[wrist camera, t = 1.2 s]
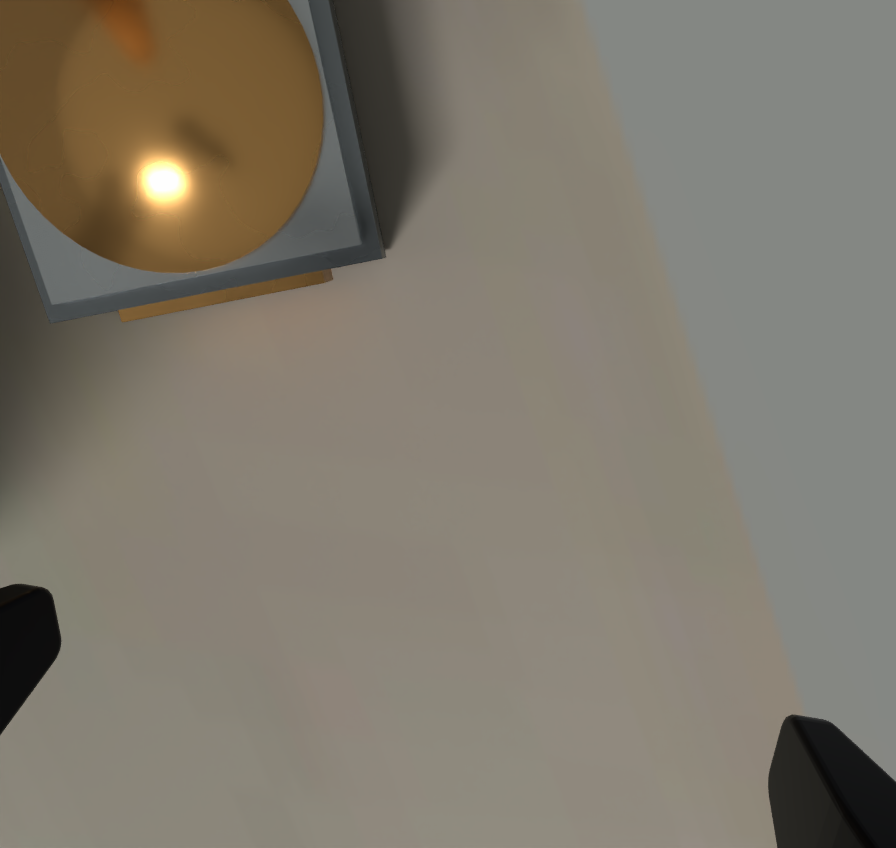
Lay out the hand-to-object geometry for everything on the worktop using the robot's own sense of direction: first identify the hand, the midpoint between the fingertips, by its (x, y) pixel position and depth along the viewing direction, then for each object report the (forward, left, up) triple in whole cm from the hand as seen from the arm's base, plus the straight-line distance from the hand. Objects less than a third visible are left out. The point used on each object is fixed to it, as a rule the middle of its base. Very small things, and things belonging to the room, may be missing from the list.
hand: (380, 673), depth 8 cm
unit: (-3, +9, -12) cm, 15 cm away
